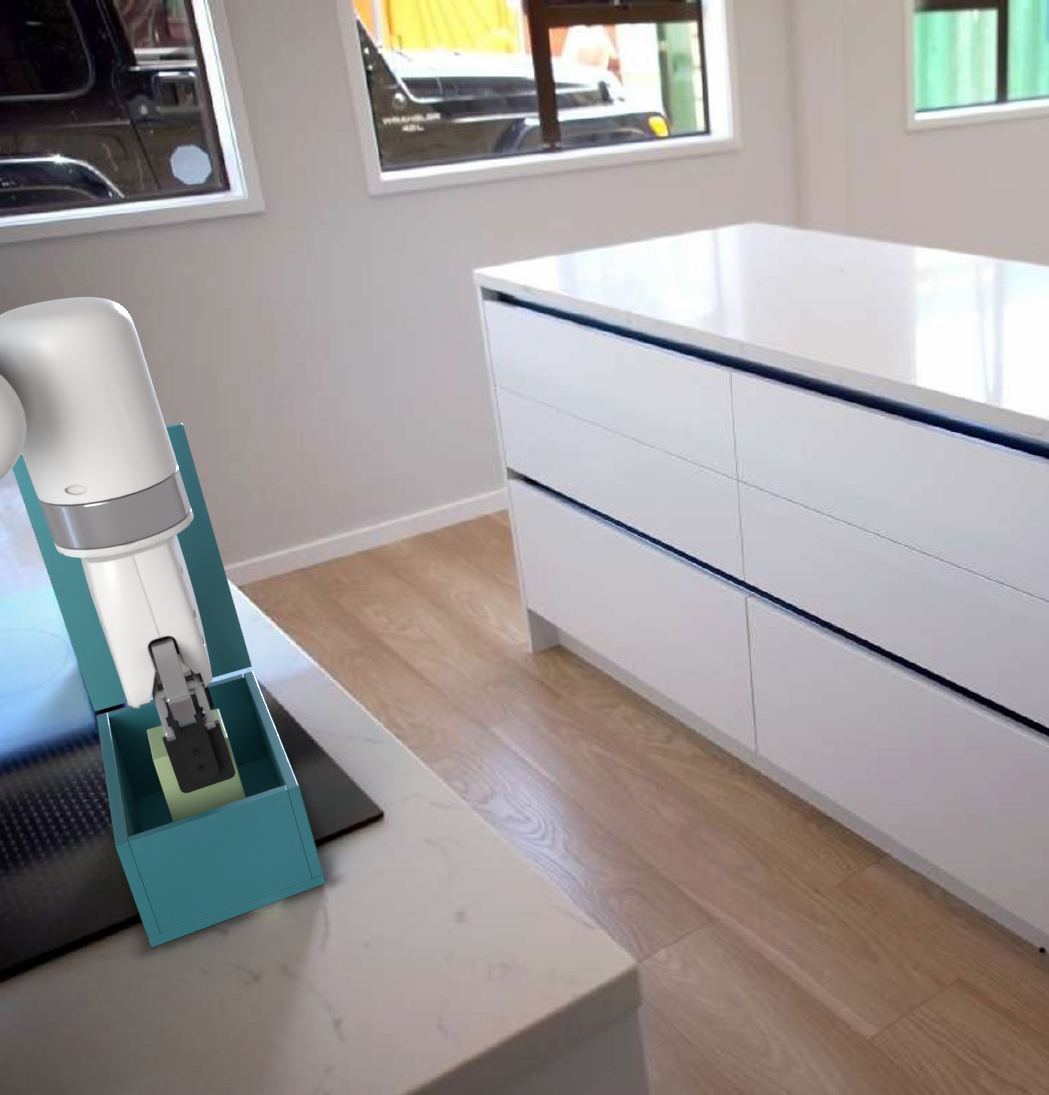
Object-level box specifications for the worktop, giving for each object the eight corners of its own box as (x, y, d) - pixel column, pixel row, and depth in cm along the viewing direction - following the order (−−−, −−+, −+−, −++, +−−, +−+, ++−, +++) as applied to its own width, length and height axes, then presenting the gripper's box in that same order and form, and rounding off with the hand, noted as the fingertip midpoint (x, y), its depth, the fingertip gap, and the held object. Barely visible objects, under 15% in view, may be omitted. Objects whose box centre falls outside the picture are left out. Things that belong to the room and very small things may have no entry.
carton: (261, 850, 84) (227, 737, 80) (190, 874, 82) (153, 760, 78) (250, 817, 87) (218, 708, 84) (183, 840, 85) (146, 729, 82)
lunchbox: (325, 883, 81) (299, 786, 78) (151, 948, 77) (115, 847, 74) (277, 757, 96) (252, 670, 92) (127, 805, 91) (96, 715, 88)
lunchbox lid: (183, 424, 85) (176, 413, 89) (9, 458, 81) (10, 445, 85) (252, 666, 92) (243, 646, 96) (94, 711, 87) (92, 688, 91)
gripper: (43, 483, 80) (125, 709, 87) (53, 578, 66) (149, 837, 73) (170, 454, 83) (239, 675, 90) (205, 539, 69) (282, 791, 77)
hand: (198, 747), depth 82 cm, fingers open, 9 cm apart
